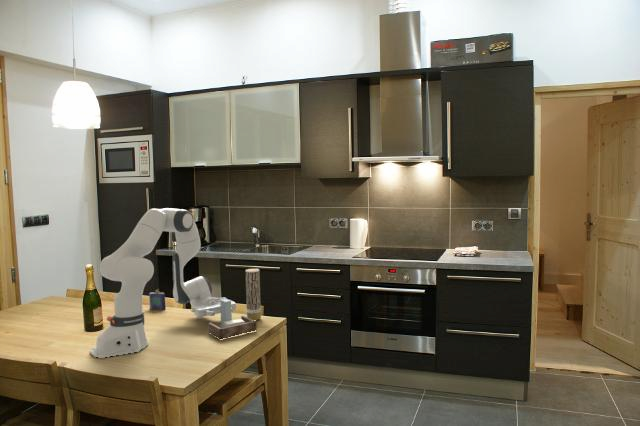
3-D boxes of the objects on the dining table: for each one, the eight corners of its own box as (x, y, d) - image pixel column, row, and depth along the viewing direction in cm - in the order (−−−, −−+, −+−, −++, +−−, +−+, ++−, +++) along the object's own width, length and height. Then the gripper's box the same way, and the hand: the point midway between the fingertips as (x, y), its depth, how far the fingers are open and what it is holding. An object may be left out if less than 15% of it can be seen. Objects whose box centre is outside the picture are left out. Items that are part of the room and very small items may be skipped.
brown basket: (220, 340, 217) (220, 329, 217) (208, 333, 227) (208, 323, 226) (256, 332, 228) (256, 321, 228) (243, 325, 238) (243, 315, 237)
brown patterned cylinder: (244, 320, 246) (242, 270, 244) (252, 316, 252) (250, 268, 250) (255, 322, 243) (254, 271, 241) (263, 318, 249) (262, 269, 247)
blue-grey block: (226, 331, 229) (225, 301, 228) (221, 329, 233) (220, 299, 232) (232, 330, 231) (231, 300, 230) (227, 327, 235) (226, 298, 234)
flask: (148, 309, 271) (148, 290, 270) (151, 308, 273) (151, 288, 273) (164, 310, 268) (163, 290, 268) (167, 308, 271) (166, 289, 270)
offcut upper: (227, 330, 222) (227, 324, 222) (224, 328, 226) (224, 321, 226) (244, 327, 226) (244, 321, 226) (241, 325, 230) (240, 318, 230)
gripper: (189, 303, 239) (201, 309, 228) (228, 296, 251) (241, 302, 240) (189, 316, 239) (202, 323, 228) (228, 309, 252) (241, 314, 241)
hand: (222, 312), depth 234 cm, fingers open, 8 cm apart
